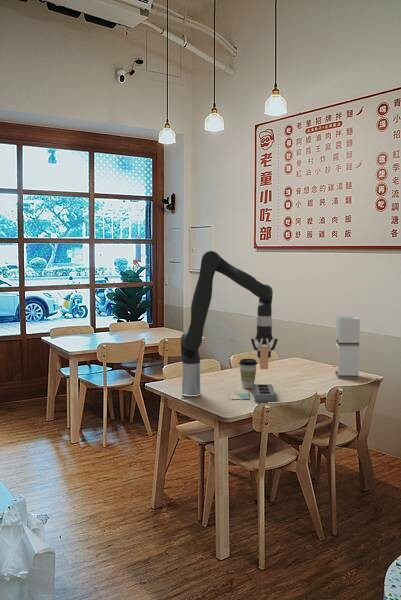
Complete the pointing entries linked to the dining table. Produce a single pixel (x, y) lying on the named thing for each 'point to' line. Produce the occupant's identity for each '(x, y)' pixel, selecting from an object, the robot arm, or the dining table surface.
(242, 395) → the green mat
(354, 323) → the white banded pillar
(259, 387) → the grey socket block
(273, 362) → the dining table surface
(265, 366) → the terracotta peg
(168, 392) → the dining table surface
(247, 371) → the coffee cup
